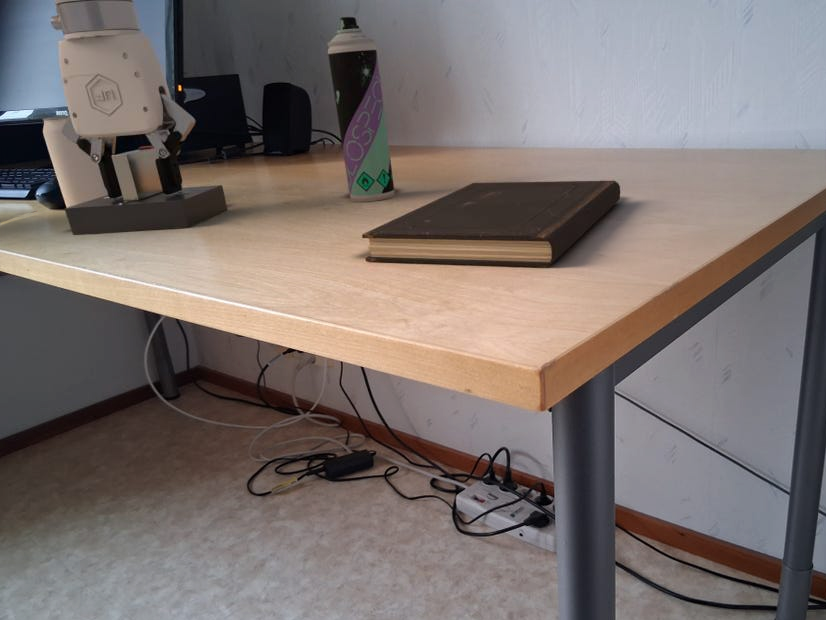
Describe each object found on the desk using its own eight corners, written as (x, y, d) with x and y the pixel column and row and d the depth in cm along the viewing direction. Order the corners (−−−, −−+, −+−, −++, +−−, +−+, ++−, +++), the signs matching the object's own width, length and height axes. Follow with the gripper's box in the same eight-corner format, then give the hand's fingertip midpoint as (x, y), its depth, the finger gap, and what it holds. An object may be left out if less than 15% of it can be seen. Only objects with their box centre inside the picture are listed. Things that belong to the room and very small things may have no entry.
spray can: (343, 202, 84) (314, 19, 76) (360, 194, 89) (335, 20, 81) (385, 200, 82) (360, 13, 75) (401, 192, 87) (379, 15, 79)
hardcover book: (366, 261, 57) (361, 234, 56) (474, 204, 76) (472, 182, 75) (554, 268, 51) (553, 237, 50) (620, 203, 70) (620, 180, 69)
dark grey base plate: (70, 235, 78) (61, 207, 77) (124, 215, 88) (117, 190, 87) (187, 228, 76) (180, 199, 75) (228, 209, 86) (223, 183, 85)
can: (112, 200, 101) (87, 114, 97) (123, 204, 97) (98, 113, 92) (63, 208, 98) (34, 119, 93) (72, 213, 93) (43, 119, 88)
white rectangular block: (138, 200, 78) (125, 152, 76) (123, 201, 78) (110, 153, 76) (168, 190, 84) (156, 145, 82) (154, 191, 84) (142, 146, 82)
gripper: (1, 30, 72) (57, 205, 79) (158, 14, 69) (201, 195, 76) (50, 32, 78) (97, 193, 85) (193, 17, 76) (230, 184, 83)
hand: (146, 192), depth 81 cm, fingers open, 6 cm apart
